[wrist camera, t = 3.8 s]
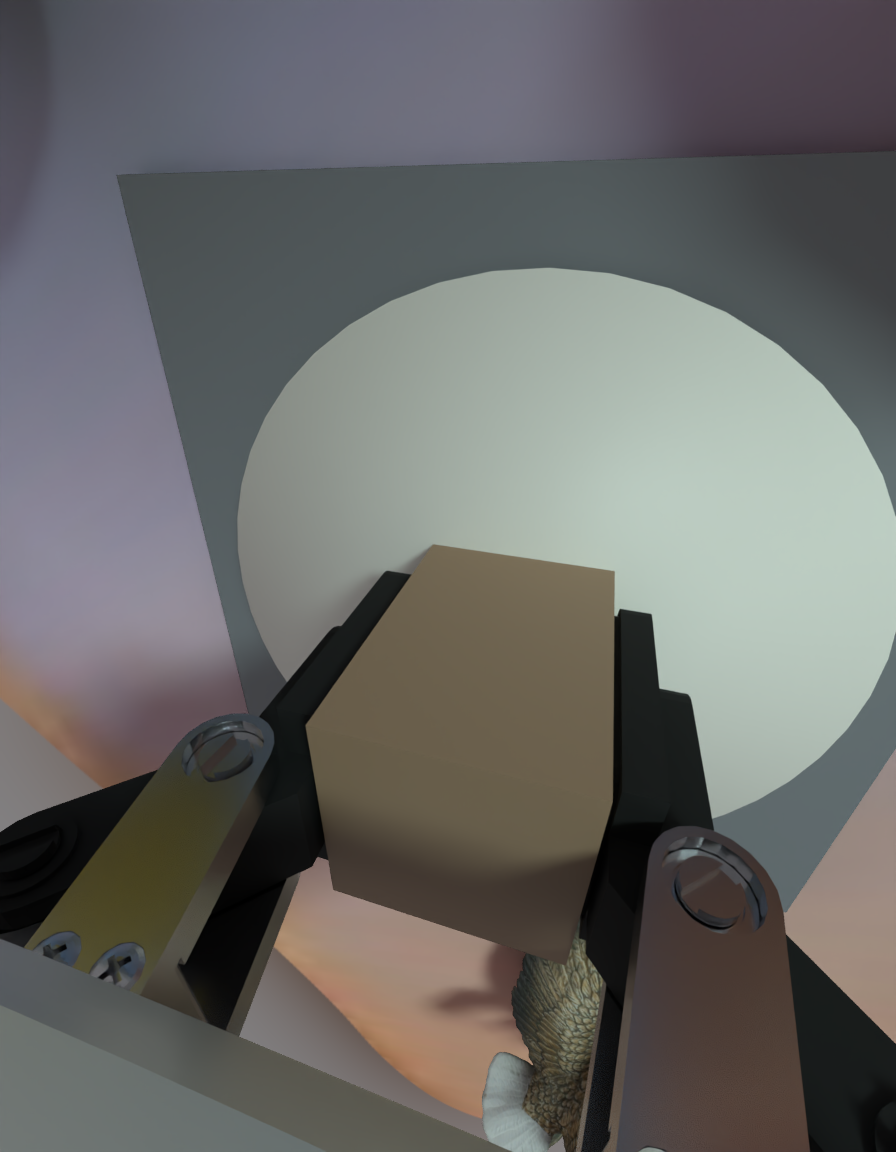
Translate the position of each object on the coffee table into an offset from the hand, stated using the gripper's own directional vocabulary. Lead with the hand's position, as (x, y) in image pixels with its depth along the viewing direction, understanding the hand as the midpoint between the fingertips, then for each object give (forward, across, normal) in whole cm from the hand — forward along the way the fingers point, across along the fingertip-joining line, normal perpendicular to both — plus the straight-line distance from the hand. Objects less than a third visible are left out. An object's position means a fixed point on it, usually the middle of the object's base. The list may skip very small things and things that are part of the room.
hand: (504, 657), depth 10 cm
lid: (+2, 0, 0) cm, 2 cm away
